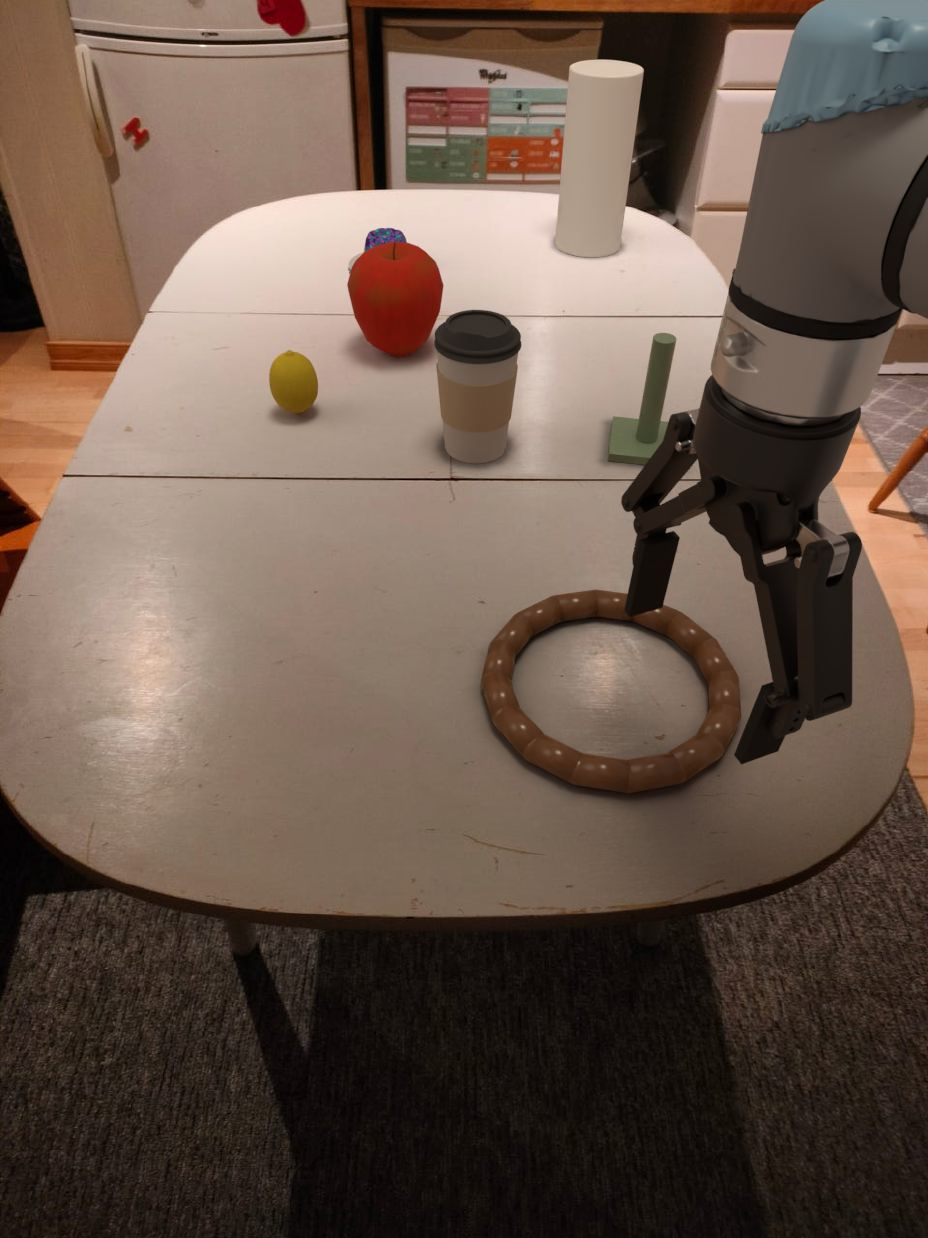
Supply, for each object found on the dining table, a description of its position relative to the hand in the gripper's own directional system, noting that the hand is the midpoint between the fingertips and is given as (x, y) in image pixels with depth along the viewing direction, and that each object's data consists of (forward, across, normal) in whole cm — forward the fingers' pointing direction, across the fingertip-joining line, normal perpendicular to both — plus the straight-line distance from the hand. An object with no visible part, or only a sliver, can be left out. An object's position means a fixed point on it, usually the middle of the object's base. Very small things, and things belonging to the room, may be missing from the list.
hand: (695, 675), depth 56 cm
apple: (+12, -72, +3) cm, 73 cm away
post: (+12, -40, +22) cm, 47 cm away
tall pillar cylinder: (+12, -96, +44) cm, 106 cm away
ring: (+10, -9, 0) cm, 13 cm away
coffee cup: (+12, -47, +4) cm, 48 cm away
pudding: (+12, -98, +10) cm, 100 cm away
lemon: (+12, -61, -14) cm, 64 cm away
